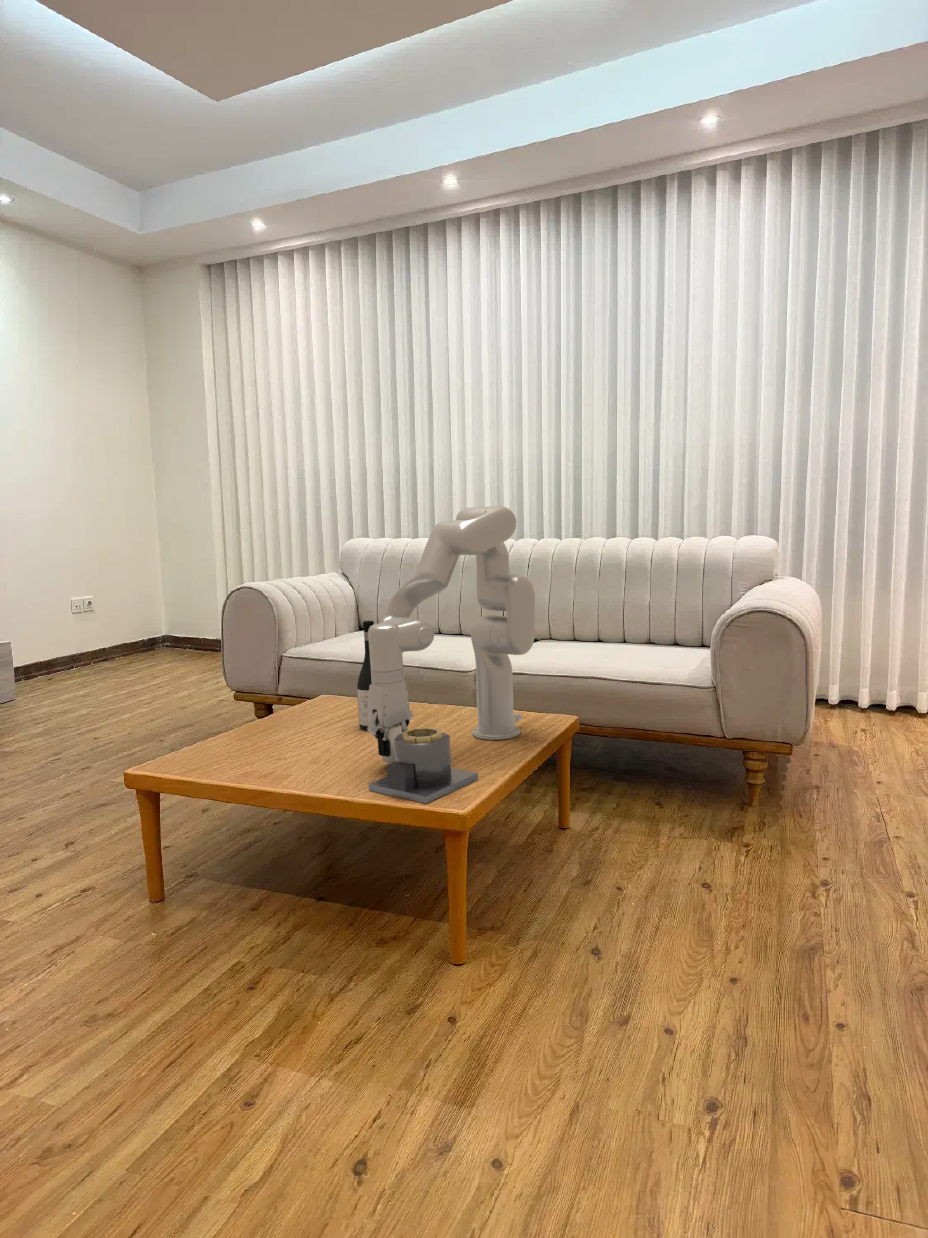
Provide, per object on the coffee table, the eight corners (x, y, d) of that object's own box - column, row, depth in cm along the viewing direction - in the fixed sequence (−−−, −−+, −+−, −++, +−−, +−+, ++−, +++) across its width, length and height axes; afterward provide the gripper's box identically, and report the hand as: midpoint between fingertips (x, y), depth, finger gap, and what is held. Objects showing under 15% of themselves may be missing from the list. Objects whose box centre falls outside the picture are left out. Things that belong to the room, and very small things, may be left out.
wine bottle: (383, 731, 229) (378, 622, 225) (355, 731, 230) (350, 623, 226) (391, 723, 237) (385, 618, 233) (363, 723, 238) (358, 619, 234)
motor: (422, 768, 195) (420, 719, 193) (478, 779, 185) (476, 728, 183) (369, 790, 180) (366, 737, 179) (426, 803, 171) (423, 748, 169)
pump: (392, 755, 200) (390, 722, 199) (413, 759, 196) (411, 726, 195) (378, 761, 196) (375, 728, 195) (399, 765, 192) (397, 731, 191)
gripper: (399, 668, 203) (404, 740, 205) (349, 682, 189) (355, 760, 192) (423, 670, 198) (428, 744, 201) (374, 685, 185) (379, 765, 187)
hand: (392, 751), depth 196 cm, fingers closed on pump, 5 cm apart
